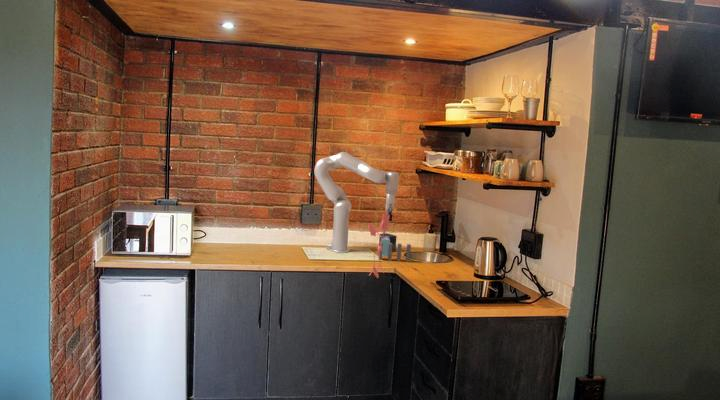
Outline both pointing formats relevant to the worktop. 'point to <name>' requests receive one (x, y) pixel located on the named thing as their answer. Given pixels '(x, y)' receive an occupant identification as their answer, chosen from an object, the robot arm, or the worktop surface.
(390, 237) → the small box
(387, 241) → the domino
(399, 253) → the domino
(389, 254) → the domino
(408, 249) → the domino
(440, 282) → the worktop surface
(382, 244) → the domino
